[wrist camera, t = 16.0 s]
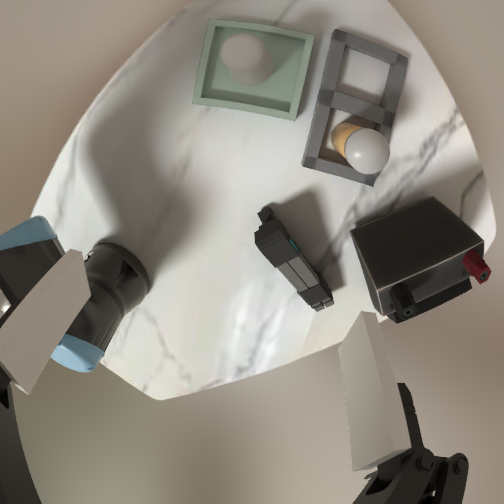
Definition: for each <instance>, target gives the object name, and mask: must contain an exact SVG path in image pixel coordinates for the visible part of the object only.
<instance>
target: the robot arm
mask: <svg viewBox="0 0 504 504" xmlns="http://www.w3.org/2000/svg"><path fill="white" fill-rule="evenodd" d="M148 288H149V280H148V276H147V273H146V271H145V269H144V267H143V266H142V264H141V263H140V261H139V260H138V259H137V258H136V257H135V256H134V255H133V254H132V253H130V252H129V251H128V250H126V249H125V248H123V247H121V246H118V245H115V244H111V243H102V244H99V245H97V246H95V247H94V248H93V249H92V250H91V251H90V252H89V253H88V254H87V256H86V257H85V260H83V255H82V252H80V251H76V250H73V249H70V250H69V251H68V252H67V253H65V251H64V249H63V247H62V246H61V244H60V242H59V240H58V236H57V235H56V234H55V233H54V231H53V229H52V228H51V226H50V224H49V223H48V221H47V219H46V218H45V217H43V216H35V217H32V218H30V219H28V220H26V221H24V222H23V223H21V224H19V225H17V226H15V227H14V228H12V229H10V230H9V231H7V232H5V233H4V234H2V235H1V236H0V504H42V503H41V501H40V499H39V496H38V494H37V491H36V489H35V486H34V483H33V480H32V478H31V475H30V472H29V469H28V465H27V462H26V459H25V455H24V452H23V448H22V444H21V440H20V436H19V431H18V426H17V422H16V416H15V410H14V405H13V397H12V389H11V385H10V384H9V383H10V381H11V380H12V382H13V383H14V384H15V385H16V386H17V387H18V388H19V389H21V390H22V391H24V392H25V393H27V394H28V395H29V394H30V392H31V390H32V388H33V386H34V385H35V383H36V381H37V379H38V377H39V375H40V374H41V372H42V370H43V368H44V367H45V365H46V363H47V362H48V360H49V358H50V357H51V358H52V359H54V360H55V361H57V362H58V363H60V364H62V365H63V366H65V367H68V368H70V369H73V370H75V371H79V372H90V371H93V370H94V369H95V368H96V366H97V365H98V363H99V362H100V360H101V358H102V357H103V356H104V354H105V351H106V349H107V347H108V345H109V343H110V341H111V339H112V337H113V335H114V333H115V332H116V330H117V328H118V326H119V324H120V322H121V320H122V319H123V317H124V316H125V315H126V314H127V313H128V312H130V311H131V310H132V309H133V308H135V307H136V306H137V305H139V304H140V303H141V302H142V301H143V299H144V297H145V295H146V294H147V292H148ZM338 352H339V358H340V364H341V370H342V378H343V384H344V391H345V399H346V407H347V415H348V424H349V433H350V443H351V455H352V468H353V471H361V470H368V469H371V468H373V467H375V466H377V468H378V470H377V471H375V472H373V473H370V474H368V475H367V476H366V477H365V478H364V479H368V478H371V479H370V480H369V482H368V483H367V485H366V486H365V488H364V489H363V490H362V492H361V493H360V494H359V496H358V497H357V498H356V500H355V501H354V502H353V504H462V500H463V496H464V491H465V486H466V481H467V475H468V468H469V465H468V460H467V458H466V456H465V455H464V454H462V453H456V454H455V455H453V456H451V457H449V458H447V457H438V456H434V454H433V453H432V452H431V451H430V450H429V449H426V448H425V447H424V445H423V442H422V437H421V433H420V428H419V424H418V420H417V415H416V414H415V412H416V411H415V408H414V405H413V400H412V396H411V393H410V391H409V389H408V388H407V386H406V385H405V383H397V381H396V378H395V374H394V371H393V367H392V364H391V360H390V357H389V354H388V351H387V347H386V344H385V341H384V338H383V335H382V331H381V329H380V326H379V323H378V320H377V317H376V314H375V313H371V312H364V311H361V312H360V314H359V316H358V317H357V319H356V321H355V322H354V324H353V326H352V327H351V329H350V331H349V332H348V334H347V335H346V337H345V338H344V340H343V342H342V343H341V345H340V346H339V348H338ZM435 490H436V491H435ZM433 491H435V495H434V496H433V495H432V493H433Z"/></svg>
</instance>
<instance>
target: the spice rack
mask: <svg viewBox="0 0 504 504" xmlns="http://www.w3.org/2000/svg"><path fill="white" fill-rule="evenodd" d="M345 47H348V48H351V49H353V50H356V51H359V52H362V53H364V54H367V55H370V56H372V57H375V58H377V59H379V60H382V61H384V62H386V63H389V64H391V65H390V69H389V74H388V79H387V83H386V87H385V91H384V96H383V100H382V104H381V107H378V106H376V105H373V104H371V103H368V102H365V101H363V100H360V99H357V98H354V97H351V96H348V95H346V94H342V93H339V92H336V91H335V88H336V84H337V79H338V75H339V71H340V66H341V62H342V58H343V53H344V48H345ZM407 61H408V58H406V57H404V56H402V55H400V54H398V53H396V52H394V51H392V50H389V49H387V48H385V47H382V46H380V45H378V44H375V43H373V42H370V41H368V40H365V39H363V38H360V37H357V36H354V35H352V34H349V33H346V32H343V31H340V30H337V29H335V30H334V32H333V33H332V38H331V42H330V47H329V51H328V56H327V60H326V65H325V69H324V73H323V78H322V82H321V86H320V90H319V95H318V99H317V103H316V107H315V111H314V115H313V119H312V123H311V127H310V131H309V135H308V139H307V143H306V147H305V151H304V155H303V159H302V163H301V164H302V166H303V167H306V168H310V169H314V170H318V171H322V172H325V173H329V174H333V175H336V176H340V177H343V178H346V179H350V180H353V181H356V182H360V183H363V184H366V185H369V186H372V187H373V185H374V182H375V180H376V177H377V174H378V172H379V171H380V170H382V169H383V168H384V167H385V165H386V164H387V162H388V160H389V155H390V149H389V145H388V139H389V135H390V132H391V128H392V125H393V121H394V117H395V114H396V110H397V106H398V102H399V98H400V94H401V89H402V85H403V81H404V76H405V71H406V66H407ZM330 108H334V109H337V110H340V111H344V112H347V113H350V114H353V115H355V116H358V117H361V118H364V119H367V120H369V121H372V122H375V123H376V126H375V130H373V129H369V128H362V127H359V126H357V125H354V124H351V123H341V124H338V125H337V126H336V127H335V128H334V129H333V130H332V133H331V143H332V145H333V147H334V148H335V150H337V151H338V152H339V153H340V154H341V155H342V156H343V157H345V158H346V159H347V161H348V163H349V164H350V165H351V166H350V165H347V164H344V163H340V162H337V161H334V160H330V159H326V158H323V157H319V156H318V154H319V150H320V147H321V143H322V139H323V135H324V132H325V128H326V124H327V120H328V116H329V112H330Z"/></svg>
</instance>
